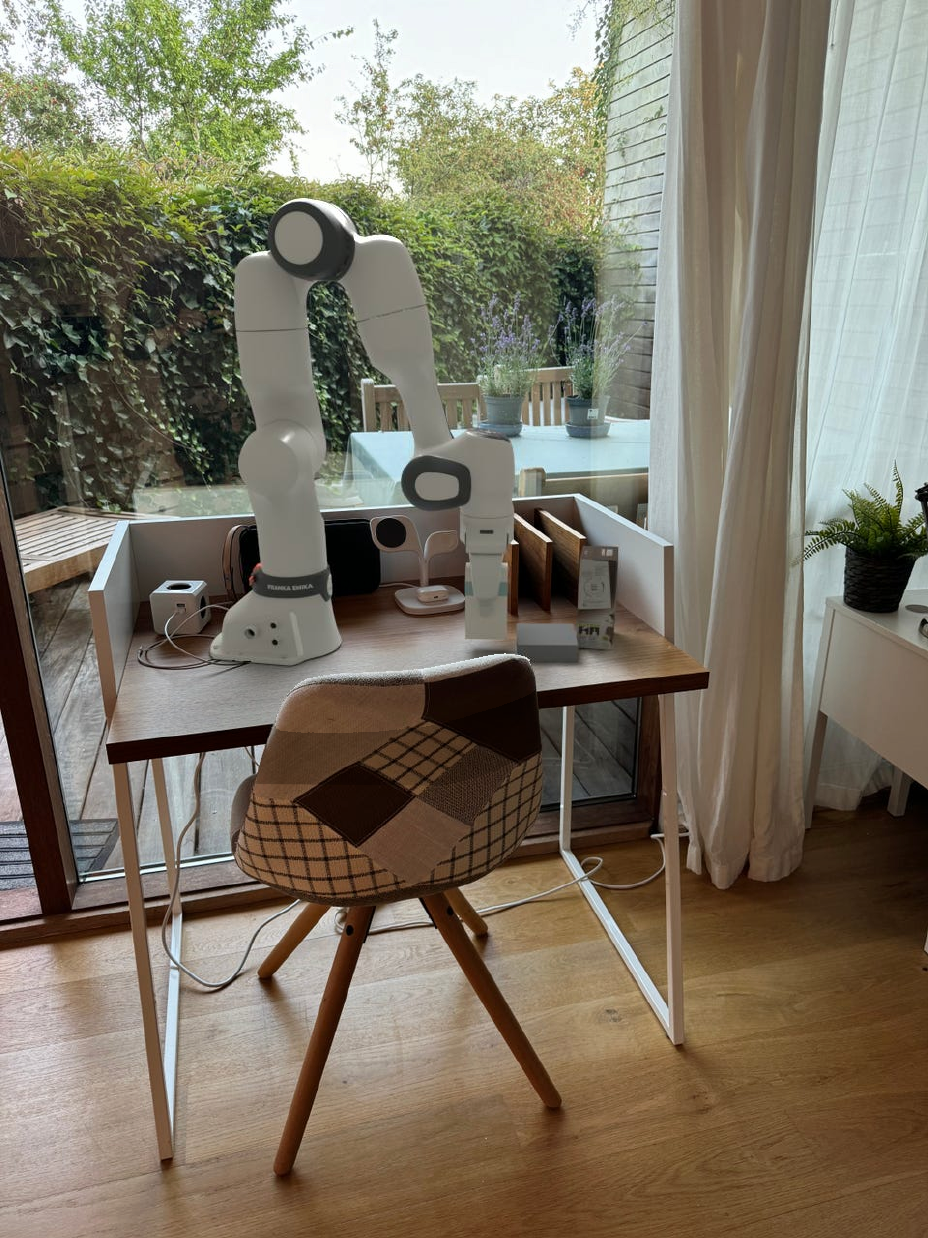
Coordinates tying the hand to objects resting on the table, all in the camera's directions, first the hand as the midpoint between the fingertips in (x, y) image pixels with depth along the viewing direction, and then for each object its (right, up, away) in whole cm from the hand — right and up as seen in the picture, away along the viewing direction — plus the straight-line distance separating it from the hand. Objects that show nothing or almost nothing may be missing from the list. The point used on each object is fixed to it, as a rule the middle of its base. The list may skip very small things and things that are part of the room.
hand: (486, 608), depth 149 cm
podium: (+10, -7, +2) cm, 13 cm away
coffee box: (+20, -6, +7) cm, 21 cm away
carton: (0, -4, +2) cm, 5 cm away
